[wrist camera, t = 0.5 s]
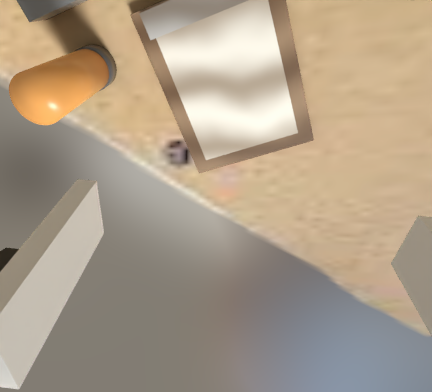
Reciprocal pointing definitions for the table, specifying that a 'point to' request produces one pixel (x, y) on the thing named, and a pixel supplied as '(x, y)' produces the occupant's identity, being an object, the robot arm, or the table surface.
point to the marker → (61, 84)
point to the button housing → (45, 8)
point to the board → (227, 76)
